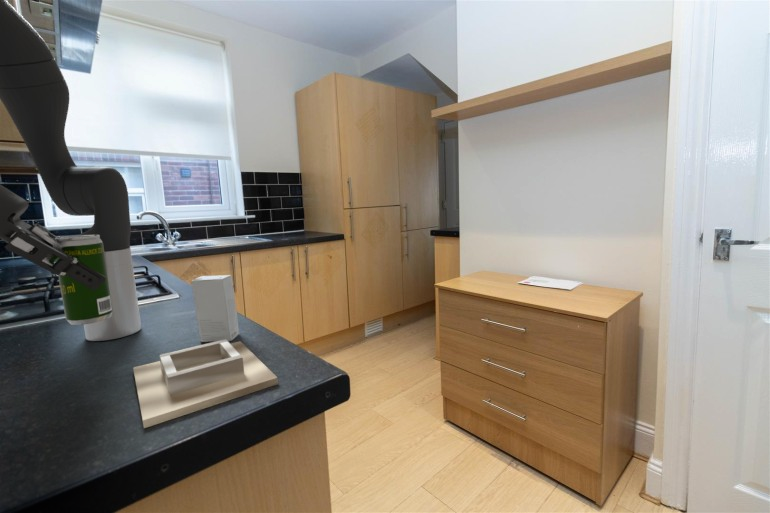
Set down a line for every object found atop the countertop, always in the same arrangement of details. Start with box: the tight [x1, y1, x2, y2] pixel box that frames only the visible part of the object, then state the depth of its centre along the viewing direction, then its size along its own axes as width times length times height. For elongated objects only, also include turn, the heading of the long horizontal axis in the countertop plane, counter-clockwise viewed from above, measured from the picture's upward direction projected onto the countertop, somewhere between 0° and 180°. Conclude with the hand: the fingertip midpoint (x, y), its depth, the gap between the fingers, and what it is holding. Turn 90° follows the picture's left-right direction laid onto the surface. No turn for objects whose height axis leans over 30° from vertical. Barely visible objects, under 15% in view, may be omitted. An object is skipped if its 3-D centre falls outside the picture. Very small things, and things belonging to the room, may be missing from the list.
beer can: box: [54, 234, 113, 326], centre depth 52 cm, size 5×5×12 cm
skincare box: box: [190, 274, 240, 343], centre depth 70 cm, size 6×4×12 cm
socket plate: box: [132, 339, 279, 429], centre depth 54 cm, size 18×16×4 cm
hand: (100, 280), depth 54 cm, fingers closed on beer can, 5 cm apart
